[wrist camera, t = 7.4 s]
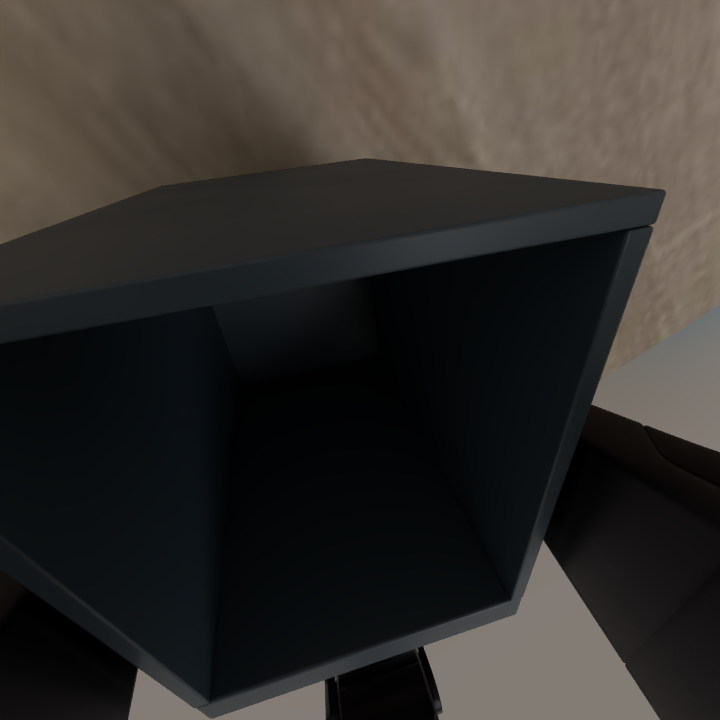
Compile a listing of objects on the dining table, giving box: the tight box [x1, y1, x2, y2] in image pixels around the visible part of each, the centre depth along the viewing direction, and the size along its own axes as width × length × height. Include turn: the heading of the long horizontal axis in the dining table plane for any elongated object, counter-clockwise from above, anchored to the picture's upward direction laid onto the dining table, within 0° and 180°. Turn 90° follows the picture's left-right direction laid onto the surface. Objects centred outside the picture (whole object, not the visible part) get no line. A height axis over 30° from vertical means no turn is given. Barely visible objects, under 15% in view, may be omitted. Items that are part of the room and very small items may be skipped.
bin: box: [0, 158, 666, 718], centre depth 10 cm, size 14×7×14 cm
